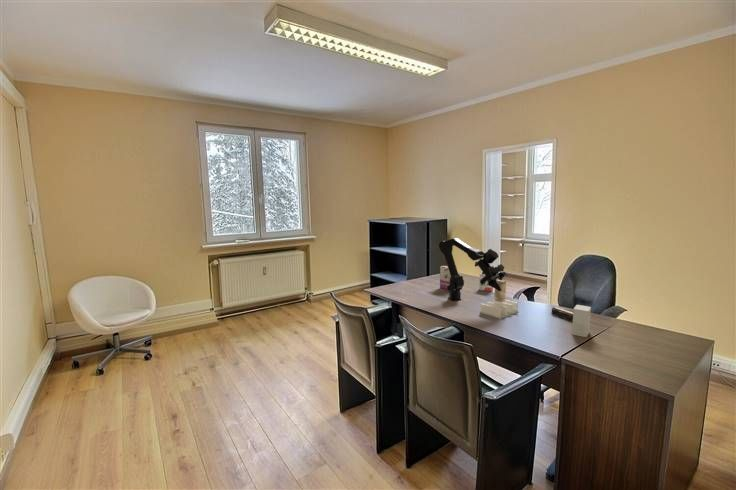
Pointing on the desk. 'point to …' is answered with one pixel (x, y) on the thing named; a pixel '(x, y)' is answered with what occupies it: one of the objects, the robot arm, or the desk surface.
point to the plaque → (500, 295)
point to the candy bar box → (444, 277)
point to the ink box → (485, 286)
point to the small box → (581, 320)
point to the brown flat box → (562, 313)
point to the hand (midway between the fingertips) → (502, 290)
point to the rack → (499, 308)
